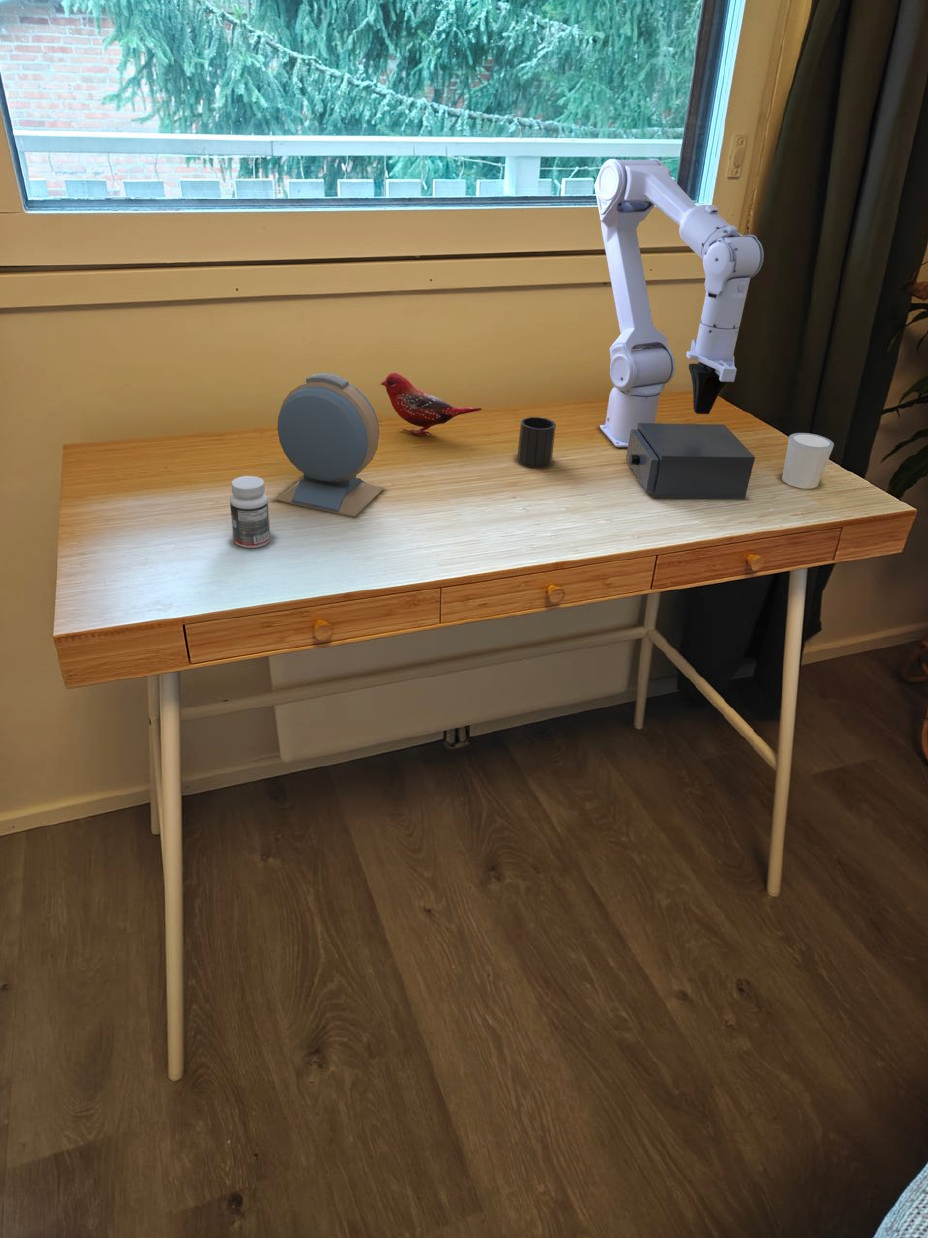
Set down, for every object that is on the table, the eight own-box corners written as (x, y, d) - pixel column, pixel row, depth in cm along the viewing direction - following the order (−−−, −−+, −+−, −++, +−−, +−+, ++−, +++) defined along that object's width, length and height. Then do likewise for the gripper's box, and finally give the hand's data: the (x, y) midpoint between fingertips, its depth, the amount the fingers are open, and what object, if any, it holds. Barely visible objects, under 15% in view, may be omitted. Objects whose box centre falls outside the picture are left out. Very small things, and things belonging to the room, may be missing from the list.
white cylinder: (824, 492, 140) (837, 450, 137) (780, 486, 141) (791, 445, 138) (819, 475, 146) (831, 435, 142) (776, 470, 147) (786, 429, 143)
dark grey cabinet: (653, 498, 135) (661, 455, 131) (631, 463, 146) (637, 422, 142) (744, 499, 137) (755, 457, 133) (715, 464, 148) (724, 424, 144)
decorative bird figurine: (382, 425, 154) (383, 368, 149) (481, 441, 151) (485, 383, 145) (377, 431, 152) (377, 373, 146) (477, 447, 148) (481, 388, 143)
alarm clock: (388, 491, 132) (390, 373, 122) (361, 518, 124) (360, 394, 114) (302, 473, 135) (296, 357, 126) (269, 499, 128) (261, 377, 118)
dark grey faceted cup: (514, 455, 146) (517, 417, 143) (546, 454, 147) (550, 416, 144) (522, 468, 142) (526, 429, 138) (554, 467, 143) (559, 428, 139)
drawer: (638, 491, 135) (643, 459, 132) (618, 459, 145) (623, 429, 142) (730, 492, 136) (738, 460, 134) (704, 460, 147) (711, 430, 144)
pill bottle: (236, 531, 119) (230, 473, 114) (272, 532, 119) (268, 474, 115) (231, 549, 115) (225, 489, 110) (268, 549, 115) (264, 490, 111)
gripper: (678, 310, 137) (663, 396, 145) (709, 336, 125) (691, 429, 133) (722, 311, 138) (705, 397, 146) (757, 338, 126) (736, 429, 134)
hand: (701, 412), depth 139 cm, fingers closed
